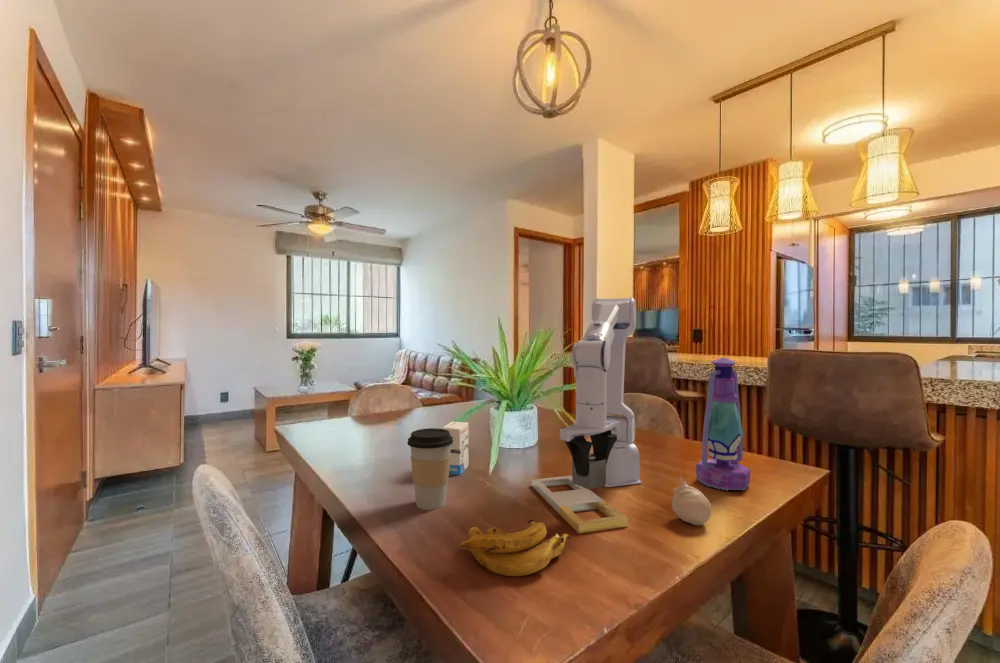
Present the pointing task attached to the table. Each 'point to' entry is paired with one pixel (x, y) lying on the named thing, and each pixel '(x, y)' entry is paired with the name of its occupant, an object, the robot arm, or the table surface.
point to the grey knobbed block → (591, 473)
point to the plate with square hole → (579, 505)
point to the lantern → (723, 432)
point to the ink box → (458, 447)
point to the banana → (514, 549)
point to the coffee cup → (430, 466)
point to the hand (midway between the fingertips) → (590, 472)
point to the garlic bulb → (691, 504)
